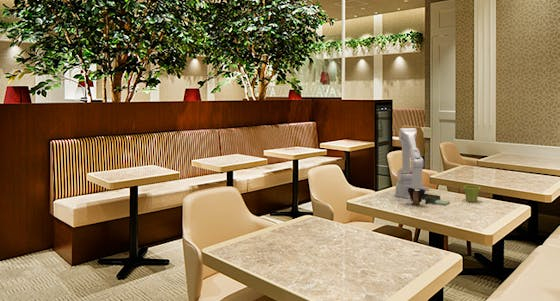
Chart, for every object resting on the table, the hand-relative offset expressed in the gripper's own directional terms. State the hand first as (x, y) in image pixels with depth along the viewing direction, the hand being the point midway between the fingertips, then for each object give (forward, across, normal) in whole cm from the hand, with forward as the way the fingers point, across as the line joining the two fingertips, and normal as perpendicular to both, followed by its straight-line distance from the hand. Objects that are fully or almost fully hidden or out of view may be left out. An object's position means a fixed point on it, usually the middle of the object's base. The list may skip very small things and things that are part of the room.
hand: (416, 201), depth 253 cm
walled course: (+2, +2, +11) cm, 11 cm away
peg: (+2, 0, 0) cm, 2 cm away
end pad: (+2, +10, +12) cm, 16 cm away
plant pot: (+2, +22, +29) cm, 36 cm away
